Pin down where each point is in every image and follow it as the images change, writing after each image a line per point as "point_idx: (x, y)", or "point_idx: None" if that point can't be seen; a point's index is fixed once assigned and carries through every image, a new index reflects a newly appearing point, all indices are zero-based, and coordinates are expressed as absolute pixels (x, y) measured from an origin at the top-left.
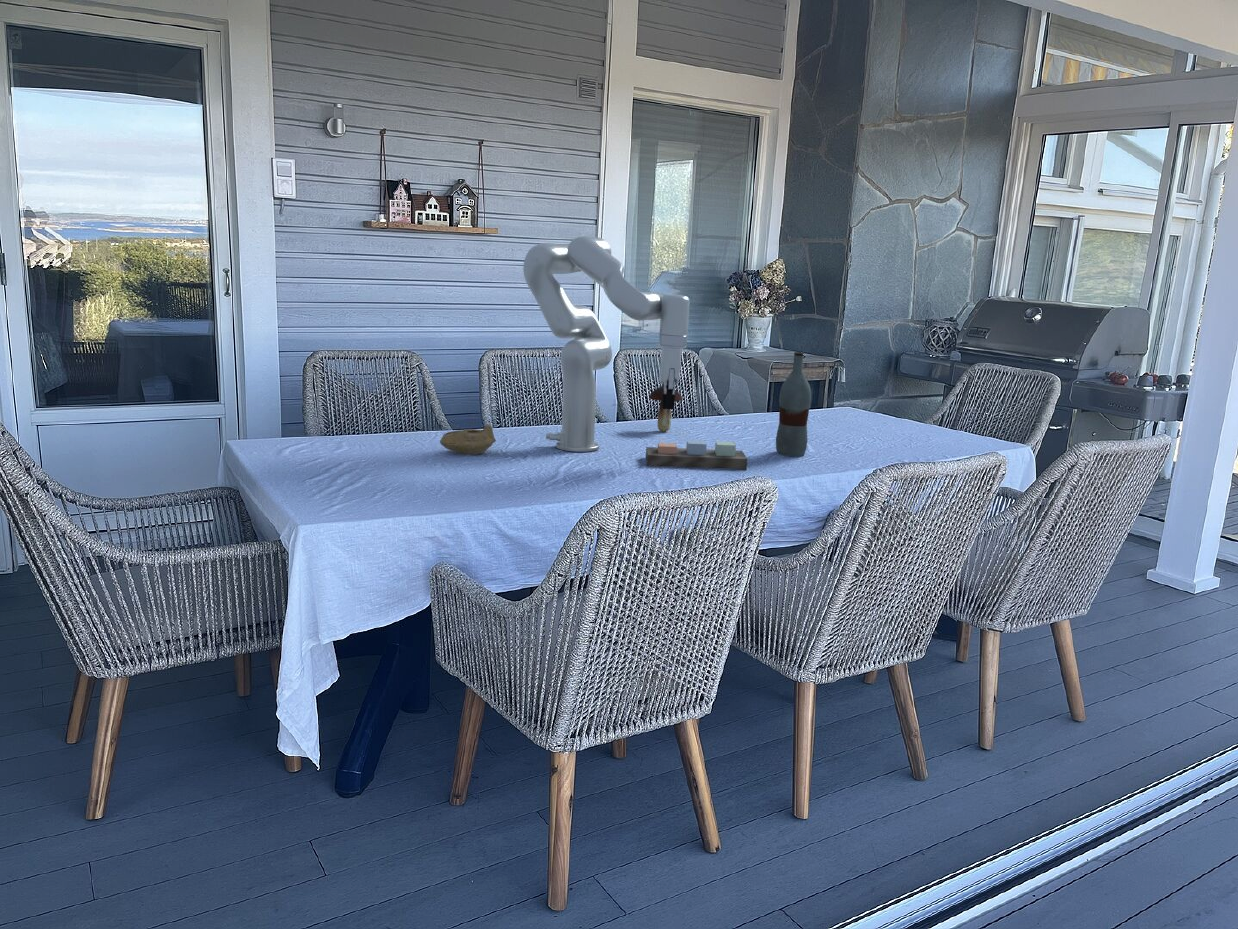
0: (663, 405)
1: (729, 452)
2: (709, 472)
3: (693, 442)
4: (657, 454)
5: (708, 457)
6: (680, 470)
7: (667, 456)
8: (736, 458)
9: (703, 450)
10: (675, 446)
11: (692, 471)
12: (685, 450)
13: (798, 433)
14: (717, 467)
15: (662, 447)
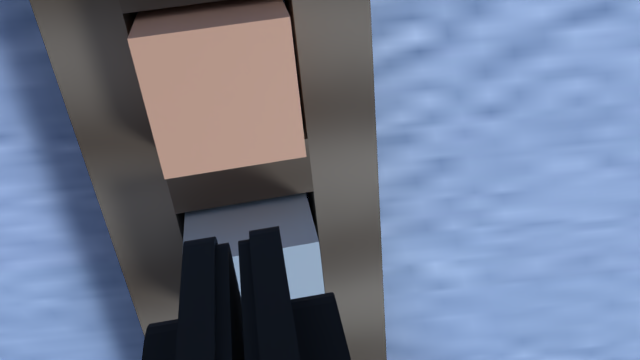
0: (188, 281)
1: None
2: (44, 301)
3: (240, 289)
4: (77, 17)
5: (142, 328)
6: (9, 159)
7: (65, 96)
8: None
9: None
10: (180, 166)
11: (20, 224)
12: (314, 193)
13: None
14: None
15: (137, 67)
